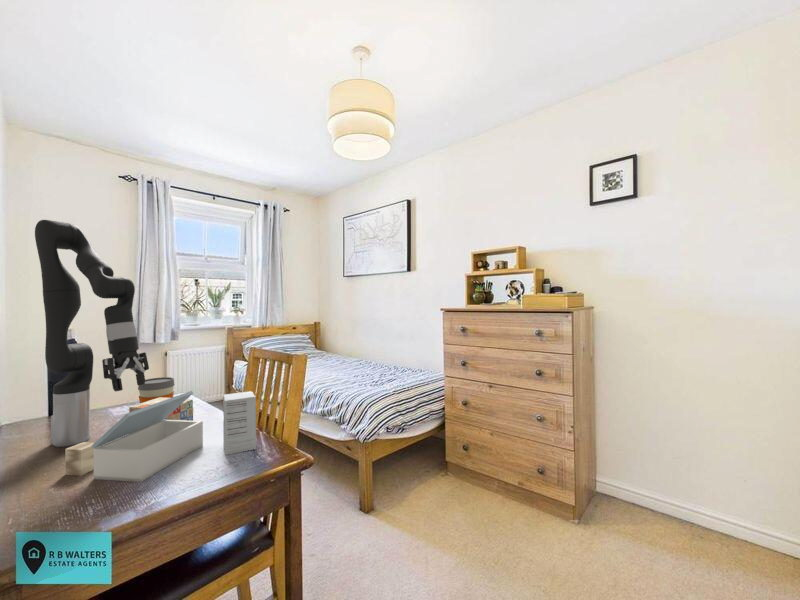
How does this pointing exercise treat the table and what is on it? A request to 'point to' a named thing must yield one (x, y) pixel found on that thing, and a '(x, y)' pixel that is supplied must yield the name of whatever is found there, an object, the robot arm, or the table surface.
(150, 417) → the box lid
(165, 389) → the reusable coffee cup
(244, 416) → the supplement box
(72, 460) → the beech block
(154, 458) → the storage box
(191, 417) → the stack of blocks
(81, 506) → the table surface
